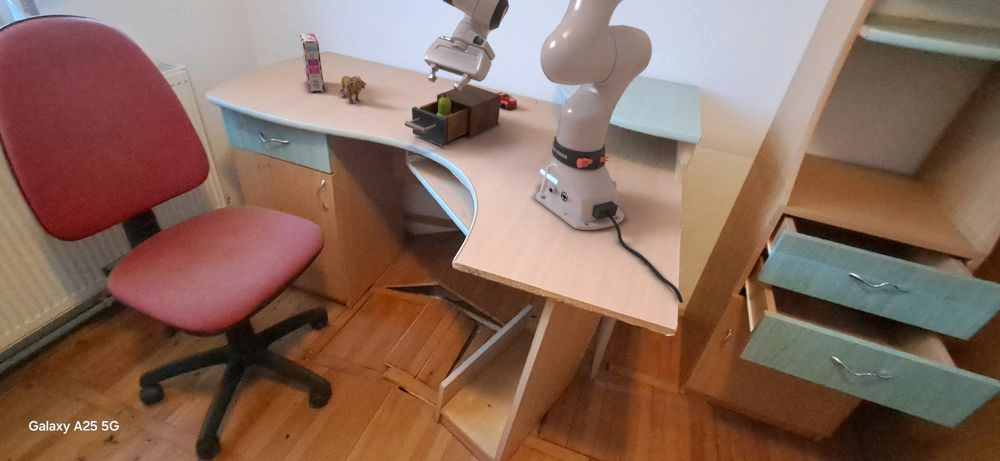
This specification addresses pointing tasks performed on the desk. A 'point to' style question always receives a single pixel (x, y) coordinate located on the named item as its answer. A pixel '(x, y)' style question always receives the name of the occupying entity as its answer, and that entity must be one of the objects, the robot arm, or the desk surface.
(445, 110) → the pear
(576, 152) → the robot arm
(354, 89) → the lion figurine
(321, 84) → the candy bar box
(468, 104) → the cabinet
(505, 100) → the race car
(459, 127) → the drawer
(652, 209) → the desk surface
